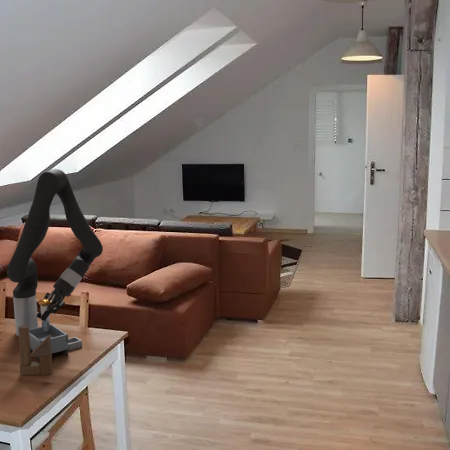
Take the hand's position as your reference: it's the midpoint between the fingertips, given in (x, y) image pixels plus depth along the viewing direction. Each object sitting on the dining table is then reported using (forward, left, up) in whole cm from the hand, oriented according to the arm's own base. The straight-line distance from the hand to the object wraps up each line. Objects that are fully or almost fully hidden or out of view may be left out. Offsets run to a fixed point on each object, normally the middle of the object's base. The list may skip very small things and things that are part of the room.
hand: (40, 318), depth 202 cm
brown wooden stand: (+14, -8, -15) cm, 22 cm away
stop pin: (0, +2, -5) cm, 5 cm away
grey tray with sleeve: (0, +6, -15) cm, 16 cm away
